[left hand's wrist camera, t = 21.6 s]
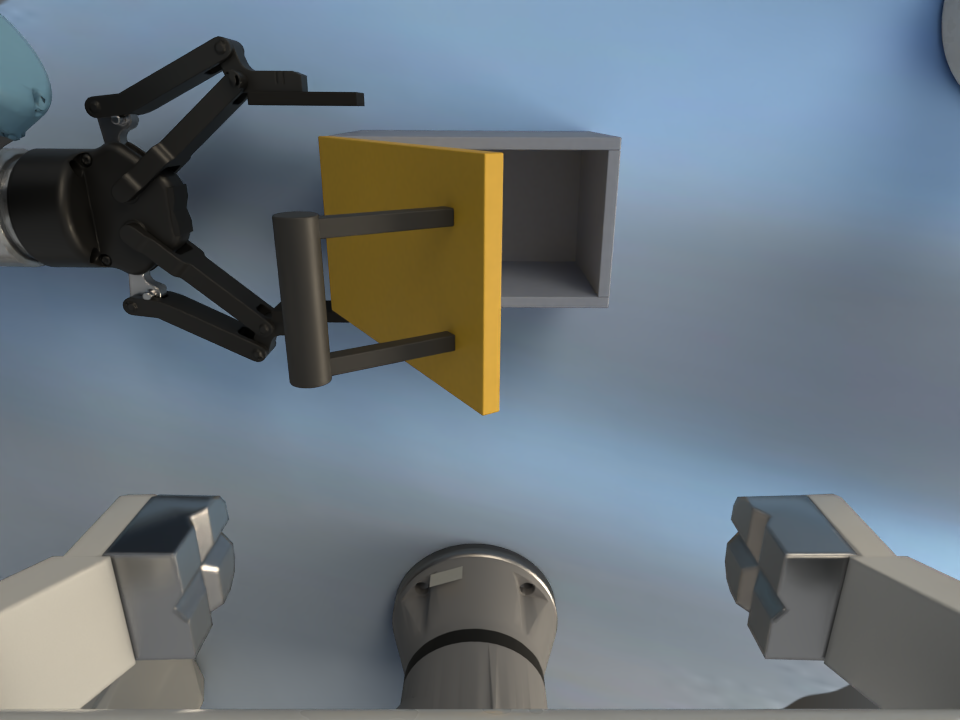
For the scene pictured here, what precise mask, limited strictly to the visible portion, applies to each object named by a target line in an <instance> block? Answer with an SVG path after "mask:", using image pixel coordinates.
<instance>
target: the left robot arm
mask: <svg viewBox="0 0 960 720" xmlns="http://www.w3.org/2000/svg"><path fill="white" fill-rule="evenodd" d="M942 41H943V47H944V52H945V56H946V59H947V62H948V65H949V67H950V70H951V72H952V74H953V76H954V77H955V79H956V81H957V82H958V84H959V85H960V0H944V5H943V13H942ZM228 520H229V517H228V512H227V507H226V502H225V501H224V500H223V498H222V497H221V496H207V495H155V494H130V495H124V496H120V497H119V498H118V499H117V500H116V501H115V502H114V503H113V504H112V505H111V506H110V507H109V508H108V509H107V510H106V511H105V513H104V514H103V515H102V516H101V517H100V518H99V519H98V520H97V521H96V522H95V523H94V524H93V525H92V526H91V527H90V528H89V529H88V531H87V532H86V533H85V534H84V535H83V536H82V537H81V538H80V539H79V540H78V541H77V542H76V543H75V544H74V545H73V546H72V548H71V549H70V550H69V551H68V552H67V553H66V554H65V555H64V556H52V557H50V558H48V559H46V560H44V561H42V562H39V563H37V564H35V565H33V566H31V567H29V568H27V569H25V570H22V571H20V572H18V573H16V574H14V575H12V576H10V577H7V578H5V579H3V580H1V581H0V720H960V581H959V580H957V579H955V578H952V577H950V576H948V575H946V574H944V573H942V572H940V571H938V570H935V569H933V568H931V567H929V566H927V565H925V564H923V563H921V562H918V561H916V560H914V559H912V558H910V557H908V556H896V555H895V554H894V553H893V552H892V551H891V550H890V549H889V547H888V546H887V545H886V544H885V543H884V542H883V541H882V540H881V539H880V538H879V537H878V536H877V535H876V534H875V533H874V532H873V530H872V529H871V528H870V527H869V526H868V525H867V524H866V523H865V522H864V521H863V520H862V519H861V518H860V517H859V516H858V515H857V513H856V512H855V511H854V510H853V509H852V508H851V507H850V506H849V505H848V504H847V503H846V502H845V501H844V500H843V499H842V498H841V497H839V496H837V495H835V494H816V495H793V496H752V497H737V499H736V501H735V503H734V505H733V511H732V516H731V520H732V522H733V524H734V525H735V527H736V529H737V530H738V533H737V534H736V535H735V536H734V537H733V538H732V539H731V540H730V541H729V542H728V543H727V548H726V556H725V568H726V579H727V582H728V586H729V589H730V592H731V594H732V596H733V598H734V600H735V602H736V604H738V605H739V606H741V607H742V608H744V609H745V610H746V611H748V612H749V618H748V624H747V625H748V627H749V629H750V631H751V633H752V635H753V637H754V639H755V640H756V642H757V644H758V646H759V648H760V650H761V652H762V654H763V656H764V657H765V659H787V660H823V661H824V664H826V665H827V666H828V667H829V668H831V669H832V670H833V671H834V672H835V673H837V674H838V675H839V676H840V677H842V678H843V679H844V680H845V681H847V682H848V683H849V684H850V685H852V686H853V687H854V688H855V689H857V690H858V691H859V692H860V693H861V694H863V695H864V696H865V697H866V698H868V699H869V700H870V701H871V702H873V703H874V704H875V705H876V706H877V707H879V708H880V709H80V708H81V707H83V706H84V705H85V704H86V703H88V702H89V701H90V700H91V699H93V698H94V697H95V696H96V695H98V694H99V693H100V692H101V691H103V690H104V689H105V688H106V687H107V686H109V685H110V684H111V683H112V682H114V681H115V680H116V679H117V678H119V677H120V676H121V675H122V674H124V673H125V672H126V671H127V670H129V669H130V668H131V667H132V666H134V665H135V664H136V661H137V660H171V659H195V658H196V656H197V654H198V652H199V650H200V648H201V646H202V644H203V642H204V640H205V639H206V637H207V635H208V633H209V631H210V629H211V627H212V625H213V624H212V618H211V612H212V611H214V610H215V609H217V608H218V607H219V606H221V605H222V604H224V602H225V600H226V598H227V596H228V594H229V592H230V590H231V585H232V581H233V576H234V572H235V554H234V548H233V543H232V542H231V541H230V540H229V539H228V538H227V537H226V536H225V535H224V534H223V533H222V530H223V529H224V527H225V525H226V524H227V522H228Z"/></svg>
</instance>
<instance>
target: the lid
mask: <svg viewBox="0 0 960 720" xmlns="http://www.w3.org/2000/svg"><path fill="white" fill-rule="evenodd" d="M318 139H319V152H320V164H321V177H322V190H323V202H324V215H323V216H319V215H318V214H317V213H314V212H303V211H297V212H283V213H277V214H274V215H273V216H272V220H273V229H274V239H275V248H276V257H277V267H278V276H279V286H280V295H281V304H282V314H283V323H284V332H285V342H286V351H287V360H288V370H289V379H290V383H291V385H293V386H295V387H298V388H315V387H320V386H323V385H326V384H328V383H329V382H330V381H331V379H332V376H333V375H338V374H343V373H348V372H353V371H358V370H363V369H368V368H373V367H377V366H382V365H387V364H392V363H397V362H402V361H406V362H407V363H408V364H410V365H411V366H413V367H414V368H416V369H417V370H418V371H420V372H421V373H423V374H424V375H426V376H427V377H428V378H430V379H431V380H433V381H434V382H436V383H437V384H438V385H440V386H441V387H443V388H444V389H446V390H447V391H448V392H450V393H451V394H453V395H454V396H455V397H457V398H458V399H460V400H461V401H463V402H464V403H465V404H467V405H468V406H470V407H471V408H473V409H474V410H475V411H477V412H478V413H480V414H481V415H487V414H491V413H495V412H498V411H499V387H500V327H501V267H502V207H503V153H501V152H491V151H481V150H470V149H460V148H450V147H439V146H429V145H419V144H408V143H398V142H388V141H377V140H367V139H357V138H346V137H336V136H319V137H318ZM320 239H326V241H327V253H328V266H329V279H330V291H331V304H332V310H333V311H334V312H336V313H337V314H339V315H340V316H341V317H343V318H344V319H346V320H347V321H349V322H350V323H351V324H353V325H354V326H356V327H357V328H359V329H360V330H361V331H363V332H364V333H366V334H367V335H369V336H370V337H371V338H373V339H374V340H376V341H377V342H379V343H378V344H373V345H368V346H362V347H357V348H352V349H346V350H341V351H335V352H330V349H329V337H328V325H327V313H326V301H325V288H324V276H323V264H322V252H321V240H320Z"/></svg>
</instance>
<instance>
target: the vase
mask: <svg viewBox="0 0 960 720" xmlns="http://www.w3.org/2000/svg"><path fill="white" fill-rule="evenodd" d="M203 701H204V677H203V675H202V673H201V671H200V669H199V667H198V665H197V663H196V661H195V660H194V659H171V660H137V661H136V664H135V665H134V666H132V667H131V668H130V669H129V670H127V671H126V672H125V673H124V674H122V675H121V676H120V677H119V678H117V679H116V680H115V681H114V682H112V683H111V684H110V685H109V686H107V687H106V688H105V689H104V690H103V691H101V692H100V693H99V694H98V695H96V696H95V697H94V698H93V699H91V700H90V701H89V702H88V703H86V704H85V705H84V706H83V707H81V708H80V709H200V708H201V706H202V703H203Z"/></svg>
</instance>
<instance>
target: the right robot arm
mask: <svg viewBox="0 0 960 720" xmlns="http://www.w3.org/2000/svg"><path fill="white" fill-rule="evenodd" d="M222 71H223V73H224V75H225V76H224V77H223V78H222V79H221V80H220V81H219V82H218V83H217V84H216V85H215V86H214V87H213V88H212V89H211V90H210V91H209V92H208V93H207V94H206V95H205V97H204V98H203V99H202V100H201V101H200V102H199V103H198V104H197V105H196V106H195V107H194V108H193V109H192V110H191V111H190V112H189V113H188V114H187V115H186V116H185V117H184V118H183V119H182V120H181V121H180V122H179V123H178V124H177V125H176V126H175V127H174V128H173V129H172V130H171V131H170V132H169V134H168V135H167V136H166V137H165V138H164V139H163V140H162V141H161V142H160V143H158V144H156V145H155V146H153V147H152V148H151V149H150V150H149V151H148V152H147V153H146V152H144V151H143V150H141V149H140V148H138V147H137V146H135V145H134V144H132V143H130V142H127V134H128V132H129V131H130V130H132V129H134V128H136V127H137V125H138V122H139V118H138V116H137V115H142V114H145V113H149V112H151V111H153V110H155V109H157V108H159V107H161V106H162V105H164V104H166V103H168V102H169V101H171V100H173V99H175V98H176V97H178V96H180V95H181V94H183V93H185V92H187V91H188V90H190V89H192V88H194V87H195V86H197V85H199V84H201V83H202V82H204V81H206V80H208V79H209V78H211V77H213V76H215V75H216V74H218V73H220V72H222ZM247 99H248V105H300V106H364V93H358V92H308V86H307V76H306V75H303V74H301V73H299V72H294V71H255V70H253V69H252V68H251V67H250V66H249V64H248V63H247V60H246V58H245V56H244V48H243V46H242V45H241V44H240V43H239V42H237V41H235V40H231V39H227V38H224V37H219V36H218V37H215V38H213V39H211V40H209V41H208V42H206V43H204V44H203V45H201V46H199V47H197V48H196V49H194V50H192V51H191V52H189V53H187V54H185V55H184V56H182V57H180V58H179V59H177V60H175V61H174V62H172V63H170V64H168V65H167V66H165V67H163V68H162V69H160V70H158V71H156V72H155V73H153V74H151V75H150V76H148V77H146V78H144V79H143V80H141V81H139V82H138V83H136V84H134V85H133V86H131V87H129V88H127V89H126V90H124V91H122V92H121V93H119V94H111V95H102V96H94V97H90V98H88V99H87V100H86V101H85V109H86V111H87V113H88V114H89V115H90V116H92V117H94V118H97V119H98V122H99V125H100V129H101V132H102V136H103V139H104V142H105V144H103V145H102V146H100V147H99V148H96V149H32V150H30V151H28V150H26V149H16V148H3V147H4V146H5V145H7V144H9V143H10V142H12V141H16V140H20V138H21V137H24V136H25V132H26V131H27V130H28V129H29V128H30V127H31V126H32V125H33V124H35V123H36V122H37V121H38V120H39V119H40V118H41V117H42V116H44V115H45V113H46V112H47V111H48V109H49V107H50V104H51V100H52V91H51V85H50V82H49V79H48V76H47V73H46V71H45V69H44V67H43V65H42V63H41V61H40V60H39V58H38V56H37V55H36V53H35V52H34V50H33V49H32V48H31V46H30V45H29V44H28V42H27V41H26V40H25V39H24V37H23V36H22V35H21V34H20V33H19V32H18V30H17V29H16V28H15V27H14V26H13V25H12V24H11V23H10V22H9V21H8V20H7V19H6V18H5V17H4V16H2V15H1V14H0V266H5V267H40V266H45V265H47V266H50V267H112V268H117V269H120V270H123V271H124V272H126V273H128V274H129V285H130V297H129V298H127V299H125V301H124V302H123V308H124V310H125V311H126V312H127V313H128V314H131V315H137V316H145V317H154V318H159V319H161V320H163V321H166V322H168V323H170V324H172V325H175V326H177V327H179V328H181V329H184V330H186V331H188V332H190V333H193V334H195V335H197V336H199V337H201V338H204V339H206V340H208V341H210V342H213V343H215V344H217V345H219V346H222V347H224V348H226V349H228V350H230V351H233V352H235V353H237V354H239V355H242V356H244V357H246V358H248V359H251V360H253V361H256V362H261V361H263V360H264V359H265V358H266V357H267V355H268V354H269V353H270V352H271V351H272V350H273V349H274V347H275V346H276V338H277V336H279V335H285V332H284V323H283V314H282V304H281V302H280V303H279V304H278V305H277V306H276V307H275V308H273V307H271V306H270V305H269V304H267V303H266V302H265V301H263V300H262V299H261V298H259V297H258V296H257V295H255V294H254V293H253V292H251V291H250V290H249V289H247V288H246V287H245V286H243V285H242V284H241V283H239V282H238V281H237V280H236V279H234V278H233V277H232V276H230V275H229V274H228V273H226V272H225V271H224V270H222V269H221V268H220V267H218V266H217V265H216V264H214V263H213V262H212V261H210V260H209V259H208V258H207V257H205V255H204V252H203V251H202V250H201V249H199V248H198V247H197V246H195V245H194V244H193V243H191V242H190V241H189V240H188V238H189V236H190V232H192V231H193V227H192V220H191V217H190V215H189V213H188V210H187V199H188V193H187V186H186V184H183V183H182V181H181V179H180V178H179V176H178V175H177V174H176V173H177V172H178V171H179V170H180V169H181V168H182V167H183V166H184V165H185V164H186V163H187V162H188V161H189V160H190V158H191V155H192V154H193V153H194V152H195V151H196V150H197V149H198V148H199V147H200V146H201V145H202V144H203V143H204V142H205V141H206V140H207V139H208V138H209V137H210V136H211V135H212V134H213V133H214V132H215V131H216V130H217V129H218V128H219V127H220V126H221V125H222V124H223V123H224V122H225V121H226V120H227V119H228V118H229V117H230V116H231V115H232V114H233V113H234V112H235V111H236V110H237V109H238V108H239V107H240V106H241V105H242V104H243V103H244V102H245V101H246V100H247ZM158 265H159V266H160V267H161V268H163V269H164V270H165V271H167V272H168V273H169V274H171V275H173V276H175V277H180V278H182V279H183V280H185V281H186V282H187V283H189V284H190V285H191V286H193V287H194V288H195V289H197V290H198V291H199V292H201V293H202V294H204V295H205V296H206V297H208V298H209V299H210V300H212V301H213V302H214V303H216V304H217V305H218V306H220V307H221V308H222V309H224V310H225V311H227V312H228V313H229V314H231V315H232V316H233V317H235V318H236V319H237V320H236V319H234V318H232V317H230V316H227V315H225V314H223V313H221V312H219V311H216V310H214V309H212V308H210V307H208V306H206V305H203V304H201V303H199V302H197V301H195V300H192V299H190V298H188V297H186V296H183V295H181V294H178V293H174V292H170V291H167V287H166V285H164V284H162V283H159V282H157V281H155V280H154V279H153V278H152V277H151V275H150V271H151V270H153V269H155V268H156V267H157V266H158ZM326 313H327V322H349V321H347V320H346V319H344V318H343V317H341V316H340V315H339V314H337V313H336V312H334V311H333V310H332V304H331V301H326ZM238 320H239V321H238ZM392 624H393V631H394V636H395V640H396V644H397V647H398V651H399V655H400V659H401V663H402V666H403V670H404V674H405V677H404V685H403V691H402V698H401V704H400V706H399V707H398V708H397V709H547V700H546V691H545V683H544V674H545V670H546V667H547V663H548V660H549V656H550V653H551V649H552V646H553V642H554V639H555V635H556V631H557V612H556V605H555V598H554V595H553V591H552V589H551V586H550V584H549V582H548V581H547V579H546V578H545V576H544V575H543V573H542V572H541V571H540V570H539V569H538V568H537V567H536V566H535V565H534V564H533V563H531V562H530V561H529V560H527V559H526V558H524V557H523V556H521V555H519V554H517V553H515V552H513V551H510V550H508V549H504V548H501V547H497V546H492V545H485V544H464V545H457V546H452V547H448V548H445V549H442V550H439V551H437V552H435V553H433V554H431V555H429V556H427V557H425V558H424V559H422V560H421V561H420V562H418V563H417V564H416V565H415V566H414V567H413V568H412V569H411V570H410V571H409V572H408V573H407V574H406V576H405V577H404V579H403V580H402V582H401V584H400V586H399V588H398V591H397V594H396V598H395V604H394V610H393V617H392Z"/></svg>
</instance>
